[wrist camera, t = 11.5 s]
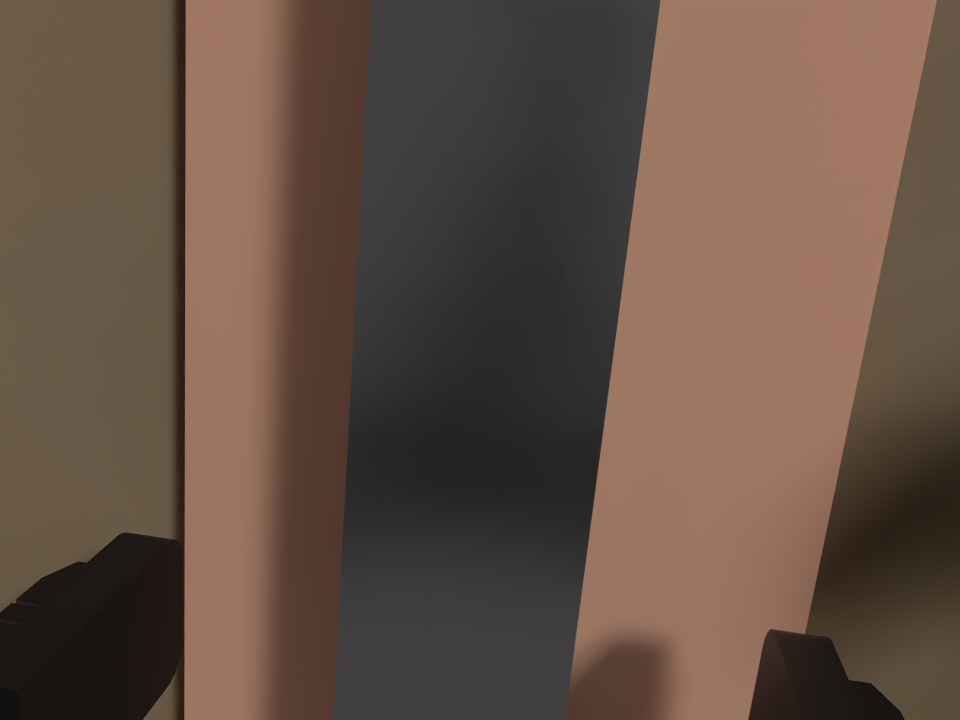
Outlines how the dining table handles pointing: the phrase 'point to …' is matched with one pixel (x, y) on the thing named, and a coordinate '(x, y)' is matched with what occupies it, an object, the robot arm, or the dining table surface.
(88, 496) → the dining table surface
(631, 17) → the rail
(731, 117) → the mat
